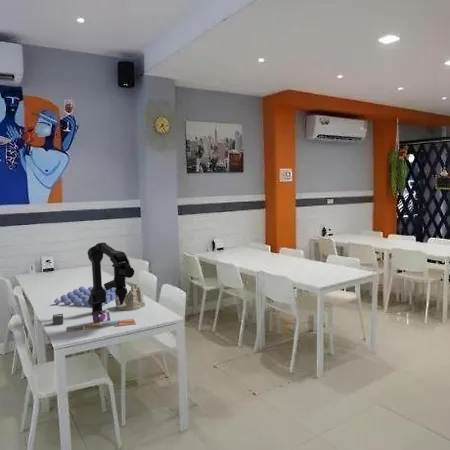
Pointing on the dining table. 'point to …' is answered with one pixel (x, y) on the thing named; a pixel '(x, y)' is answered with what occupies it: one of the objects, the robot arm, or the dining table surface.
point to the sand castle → (132, 300)
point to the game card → (102, 316)
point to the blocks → (85, 297)
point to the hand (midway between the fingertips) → (121, 303)
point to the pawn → (119, 303)
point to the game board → (98, 325)
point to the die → (57, 319)
